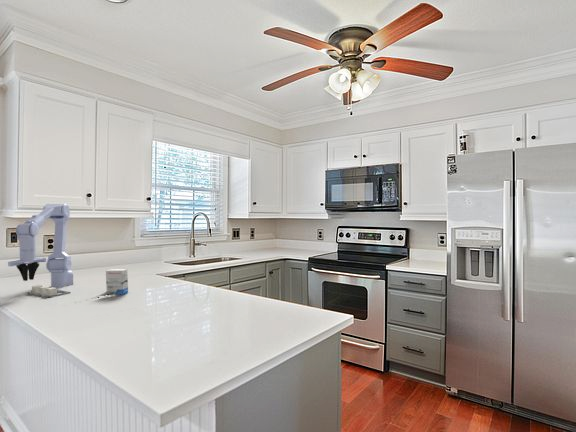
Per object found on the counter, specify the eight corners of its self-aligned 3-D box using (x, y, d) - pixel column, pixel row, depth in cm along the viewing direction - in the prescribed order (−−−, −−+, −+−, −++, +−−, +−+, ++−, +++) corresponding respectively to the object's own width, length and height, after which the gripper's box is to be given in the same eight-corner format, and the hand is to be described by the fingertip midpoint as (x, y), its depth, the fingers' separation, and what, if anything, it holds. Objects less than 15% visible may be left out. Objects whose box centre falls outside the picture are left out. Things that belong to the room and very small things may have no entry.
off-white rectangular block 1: (39, 292, 167) (39, 284, 166) (42, 292, 165) (42, 285, 165) (32, 293, 164) (32, 286, 164) (35, 294, 162) (35, 286, 162)
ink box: (128, 292, 170) (128, 268, 170) (122, 295, 165) (122, 270, 165) (112, 292, 171) (111, 268, 171) (105, 294, 166) (105, 270, 166)
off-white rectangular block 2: (53, 294, 161) (53, 287, 161) (57, 295, 160) (56, 287, 159) (46, 296, 158) (46, 288, 158) (50, 297, 157) (49, 289, 157)
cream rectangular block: (46, 293, 164) (46, 286, 164) (49, 294, 162) (49, 286, 162) (39, 294, 161) (39, 287, 161) (42, 295, 160) (42, 288, 160)
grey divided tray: (50, 292, 172) (50, 288, 172) (70, 296, 164) (70, 291, 164) (27, 296, 163) (27, 292, 163) (47, 301, 155) (47, 296, 155)
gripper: (39, 247, 164) (40, 276, 164) (3, 251, 151) (4, 282, 151) (48, 248, 161) (49, 277, 161) (13, 252, 148) (14, 283, 148)
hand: (28, 280), depth 156 cm, fingers closed
